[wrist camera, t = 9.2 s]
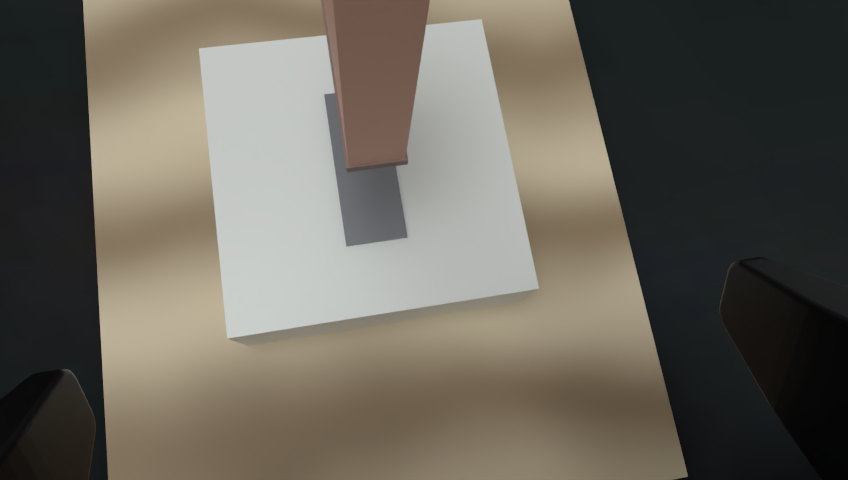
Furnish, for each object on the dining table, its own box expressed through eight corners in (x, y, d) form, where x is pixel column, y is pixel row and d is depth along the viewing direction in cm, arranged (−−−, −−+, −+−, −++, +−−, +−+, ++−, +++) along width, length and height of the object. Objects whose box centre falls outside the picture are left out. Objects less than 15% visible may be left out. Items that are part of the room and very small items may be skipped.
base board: (679, 474, 21) (688, 476, 20) (122, 587, 19) (114, 594, 18) (552, -38, 25) (556, -48, 25) (90, 5, 23) (82, -5, 22)
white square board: (515, 302, 21) (540, 287, 18) (247, 346, 20) (225, 338, 17) (467, 65, 23) (482, 16, 20) (221, 93, 22) (197, 45, 19)
